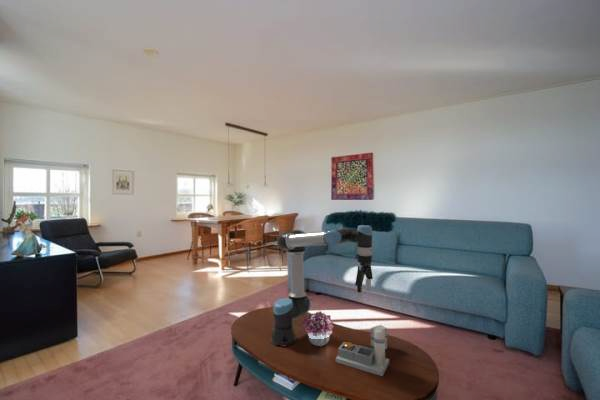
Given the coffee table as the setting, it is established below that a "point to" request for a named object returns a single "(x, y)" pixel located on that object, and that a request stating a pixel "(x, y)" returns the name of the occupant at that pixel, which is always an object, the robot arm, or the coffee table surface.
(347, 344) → the orange piece
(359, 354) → the housing
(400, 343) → the coffee table surface
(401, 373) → the coffee table surface
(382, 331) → the cartridge
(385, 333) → the ink box
